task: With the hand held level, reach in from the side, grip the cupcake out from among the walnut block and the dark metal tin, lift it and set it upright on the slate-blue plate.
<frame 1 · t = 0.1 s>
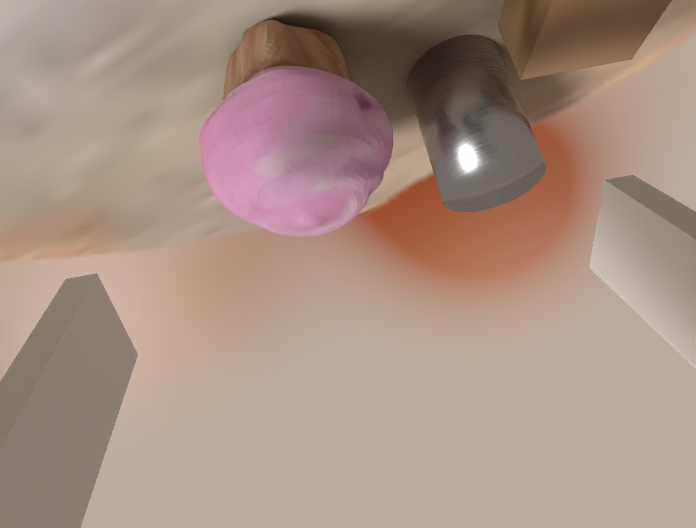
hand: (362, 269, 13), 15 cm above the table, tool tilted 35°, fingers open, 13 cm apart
cupcake: (277, 48, 25), on the table
metal tin: (452, 73, 29), on the table
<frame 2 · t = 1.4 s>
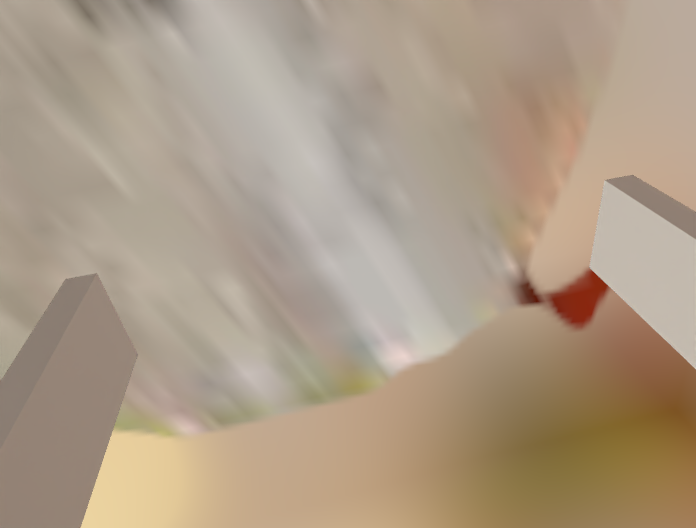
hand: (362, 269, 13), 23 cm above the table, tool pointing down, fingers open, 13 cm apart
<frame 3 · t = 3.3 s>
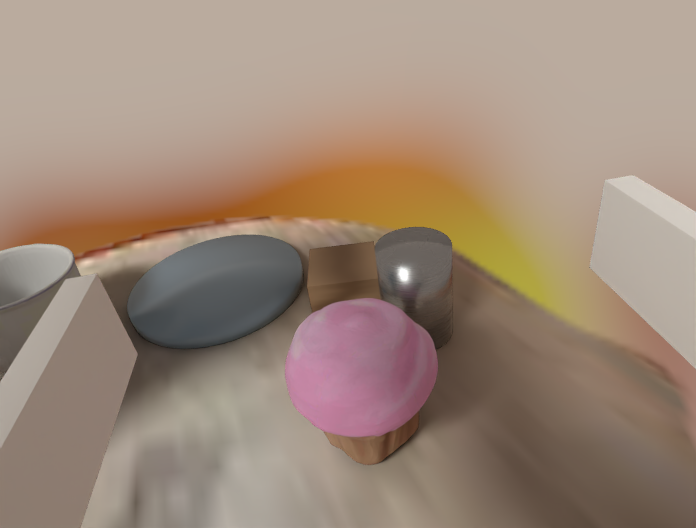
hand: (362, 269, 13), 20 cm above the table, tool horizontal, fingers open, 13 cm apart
walnut block: (347, 298, 44), on the table
cupcake: (370, 436, 32), on the table
metal tin: (417, 328, 40), on the table
teacup: (35, 358, 43), on the table
plate: (219, 288, 48), on the table
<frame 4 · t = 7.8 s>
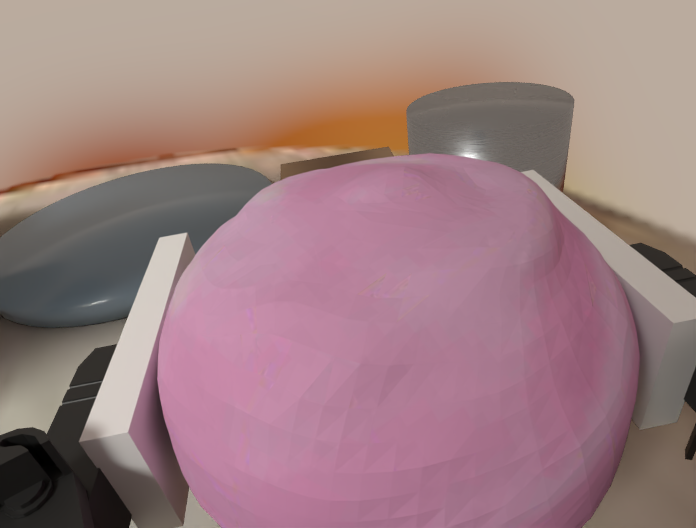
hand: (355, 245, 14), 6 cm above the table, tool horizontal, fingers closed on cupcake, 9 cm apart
walnut block: (350, 244, 26), on the table
cupcake: (404, 517, 13), on the table, touching gripper
metal tin: (481, 286, 21), on the table
plate: (142, 235, 30), on the table
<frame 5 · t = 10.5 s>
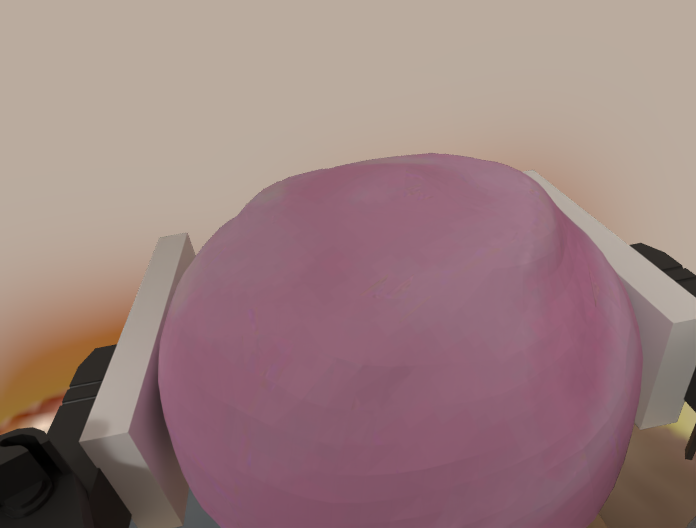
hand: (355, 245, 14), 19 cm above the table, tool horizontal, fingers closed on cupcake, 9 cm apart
cupcake: (405, 518, 13), point 12 cm above the table, touching gripper
plate: (269, 514, 27), on the table
when the fingers open (9 cm above the table, at t = 13.4 s): cupcake drops 2 cm, resting on plate.
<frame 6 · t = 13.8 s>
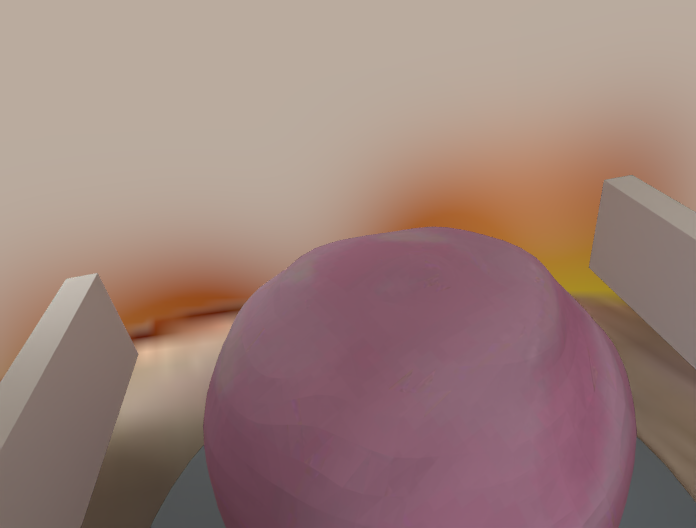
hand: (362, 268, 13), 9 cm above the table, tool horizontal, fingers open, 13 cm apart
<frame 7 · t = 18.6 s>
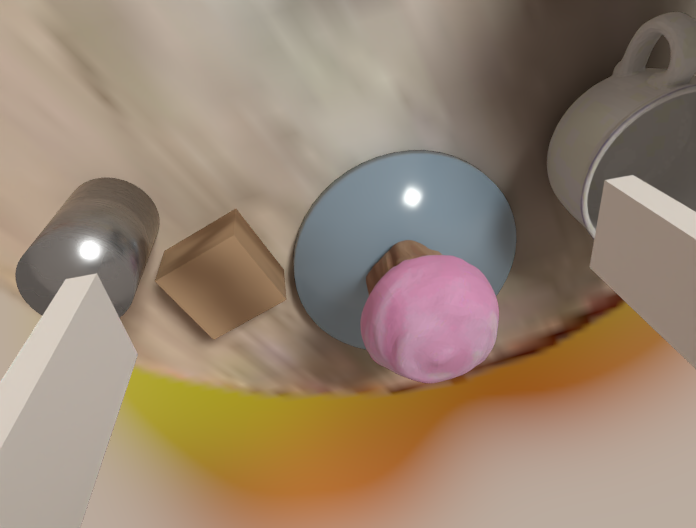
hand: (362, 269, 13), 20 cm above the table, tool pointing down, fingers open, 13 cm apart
walnut block: (226, 259, 35), on the table
cupcake: (404, 264, 36), point 1 cm above the table, touching plate
metal tin: (114, 217, 32), on the table
teacup: (600, 115, 34), on the table
plate: (403, 257, 37), on the table
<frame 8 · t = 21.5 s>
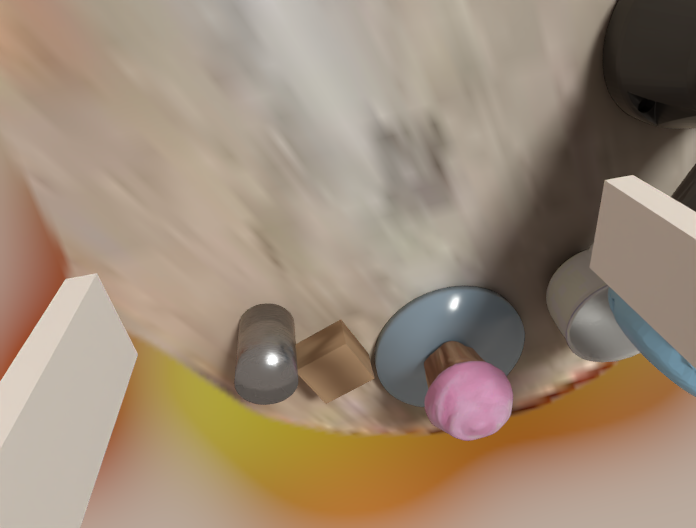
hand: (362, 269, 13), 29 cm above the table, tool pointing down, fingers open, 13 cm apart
walnut block: (331, 348, 53), on the table
cupcake: (448, 353, 54), point 1 cm above the table, touching plate
metal tin: (266, 325, 49), on the table
teacup: (582, 263, 51), on the table
plate: (447, 347, 55), on the table
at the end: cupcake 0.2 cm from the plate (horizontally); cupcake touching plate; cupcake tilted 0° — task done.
